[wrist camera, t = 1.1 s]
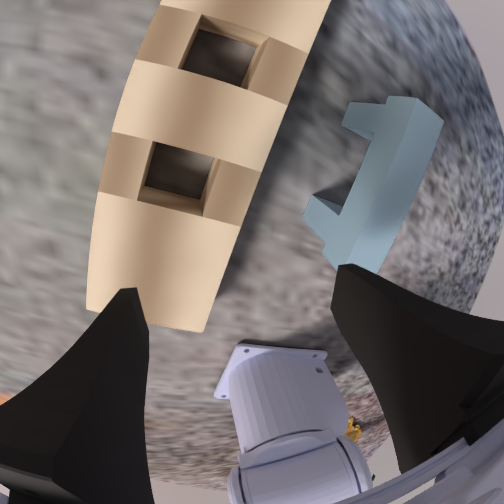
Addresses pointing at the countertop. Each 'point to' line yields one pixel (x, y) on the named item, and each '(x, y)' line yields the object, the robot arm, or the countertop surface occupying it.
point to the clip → (377, 181)
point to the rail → (197, 140)
